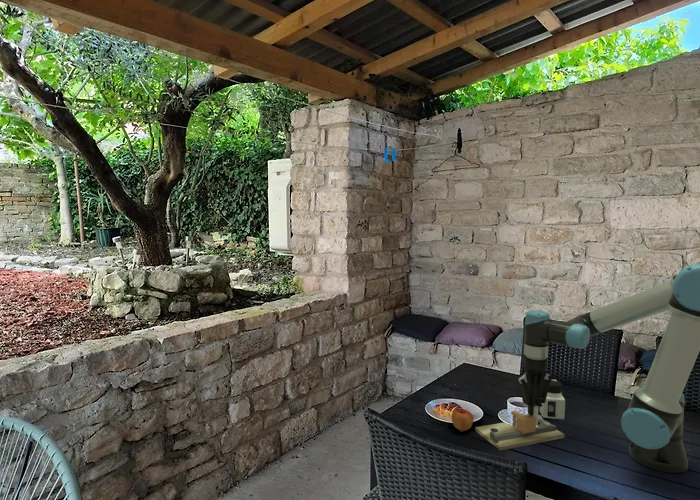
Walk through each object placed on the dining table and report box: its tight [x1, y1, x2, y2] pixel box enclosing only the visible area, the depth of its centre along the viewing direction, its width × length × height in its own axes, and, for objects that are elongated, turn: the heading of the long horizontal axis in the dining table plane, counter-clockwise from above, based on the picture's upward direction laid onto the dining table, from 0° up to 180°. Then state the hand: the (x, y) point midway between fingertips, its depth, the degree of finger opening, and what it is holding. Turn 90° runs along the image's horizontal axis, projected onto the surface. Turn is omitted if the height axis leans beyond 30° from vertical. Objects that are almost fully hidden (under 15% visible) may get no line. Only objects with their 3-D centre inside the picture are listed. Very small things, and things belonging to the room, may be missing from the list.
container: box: [539, 379, 566, 420], centre depth 170 cm, size 8×8×13 cm
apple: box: [451, 406, 474, 432], centre depth 158 cm, size 7×7×8 cm
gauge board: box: [474, 416, 566, 451], centre depth 155 cm, size 14×26×4 cm, turn 108°
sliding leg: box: [510, 410, 536, 434], centre depth 155 cm, size 8×5×6 cm, turn 18°
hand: (533, 423), depth 154 cm, fingers closed
